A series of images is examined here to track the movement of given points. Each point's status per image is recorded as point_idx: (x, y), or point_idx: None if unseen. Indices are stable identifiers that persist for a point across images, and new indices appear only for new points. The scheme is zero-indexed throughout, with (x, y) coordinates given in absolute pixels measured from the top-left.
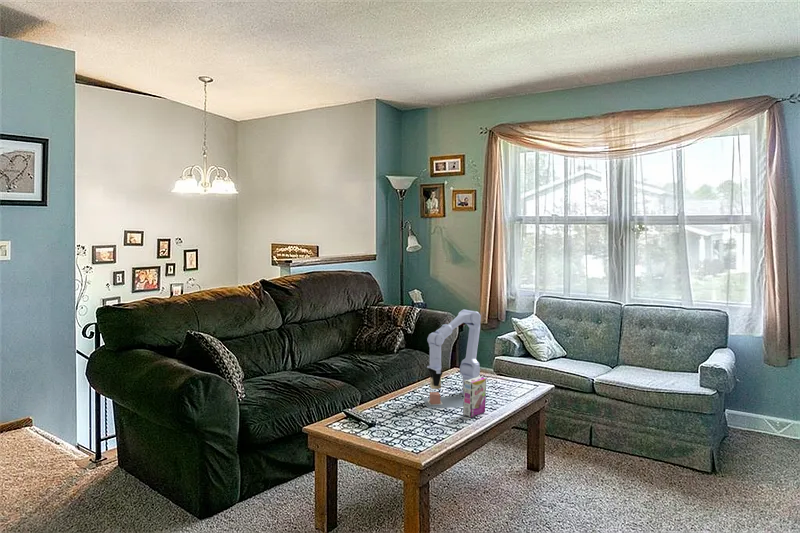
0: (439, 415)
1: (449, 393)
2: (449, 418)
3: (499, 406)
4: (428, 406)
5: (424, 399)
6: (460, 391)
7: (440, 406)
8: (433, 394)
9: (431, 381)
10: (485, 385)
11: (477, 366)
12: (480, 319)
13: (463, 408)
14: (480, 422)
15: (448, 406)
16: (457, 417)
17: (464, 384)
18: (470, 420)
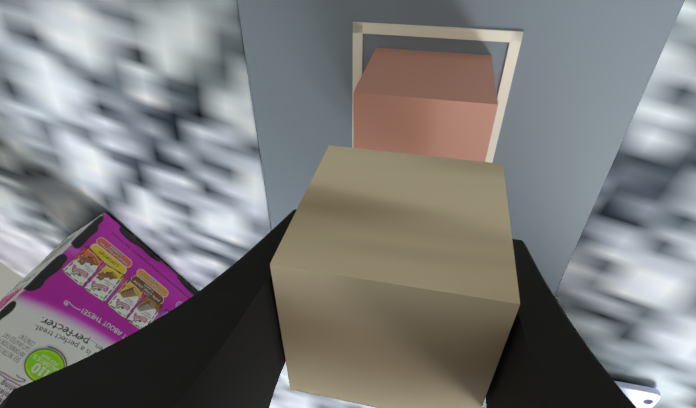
0: (51, 34)
1: (672, 316)
2: (9, 98)
3: (284, 405)
4: None
5: (596, 4)
6: (642, 390)
7: (287, 119)
8: (378, 128)
9: (342, 232)
10: None
11: None
12: None
13: (69, 245)
14: (13, 246)
15: (285, 185)
16: (52, 161)
17: None
18: (24, 213)
